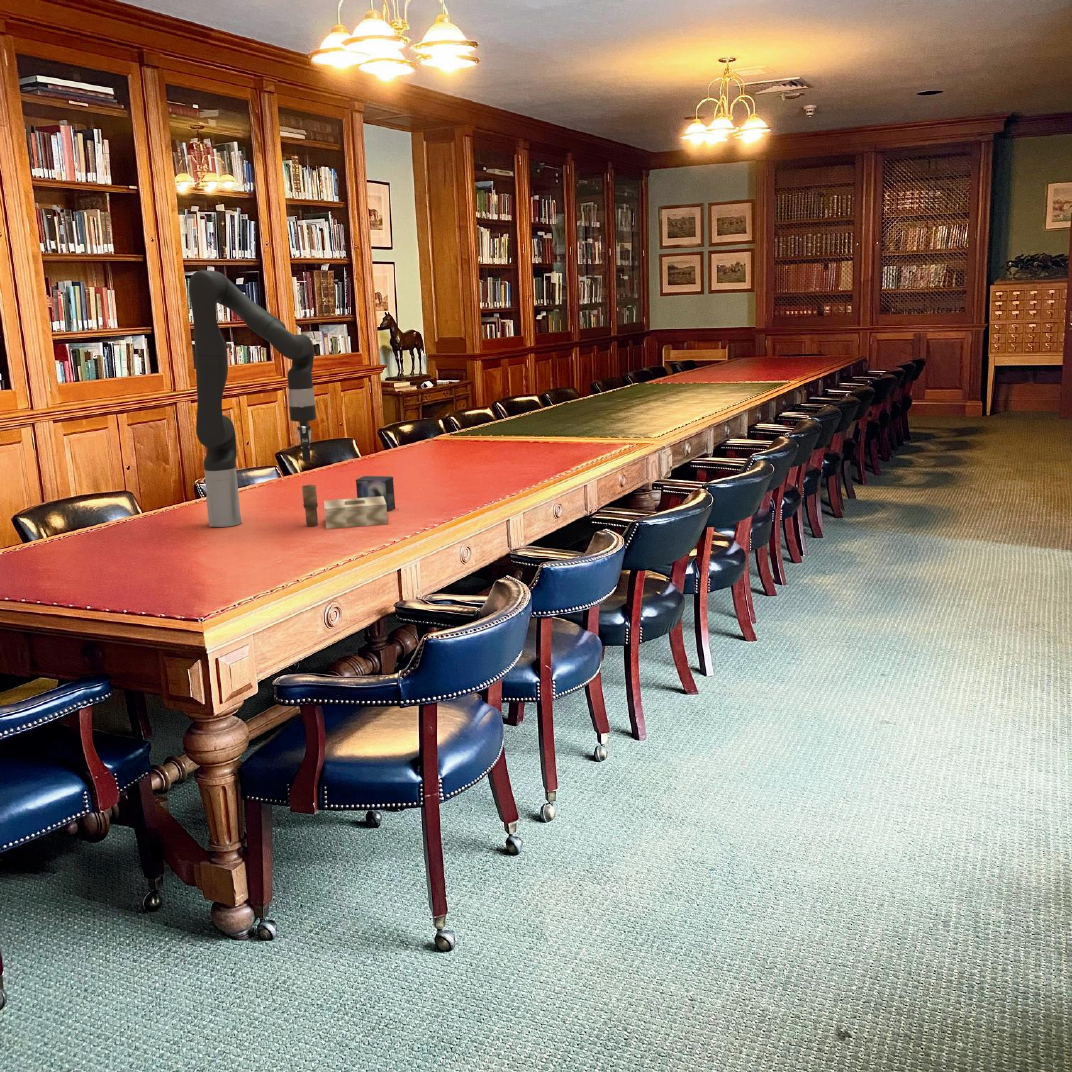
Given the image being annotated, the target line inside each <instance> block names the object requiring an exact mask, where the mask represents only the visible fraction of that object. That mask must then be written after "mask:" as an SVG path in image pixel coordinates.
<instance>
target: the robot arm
mask: <svg viewBox="0 0 1072 1072" xmlns="http://www.w3.org/2000/svg"><path fill="white" fill-rule="evenodd" d="M188 291H189V292H188V293H189V298H190V299H189V300H190V305H191V311H192V312H191V313H192V320H193V321H192V322H193V336H194V337H193V339H194V364H195V379H196V380H195V381H196V393H197V394H196V396H197V398H196V399H197V401H196V403H197V404H196V405H197V406H196V407H197V408H196V422H195V424H196V426H195V432H196V437H197V440H198V442H199V443H200V445H203V447H205V448H206V456H205V458H204V460H203V471H204V479H205V480H204V481H205V482H204V483H205V488H206V489H205V491H206V496H205V498H206V507H207V508H206V509H207V517H208V527H209V528H226V527H234V526H238V525H241V524H242V515H241V507H240V505H241V503H240V496H239V485H238V477H237V476H238V475H237V466H236V460H237V455H238V453H237V452H238V451H237V436H236V429H235V425H234V423H233V421H232V420H231V419H230V417H228V416H226V415H224V414H223V395H224V391H225V389H226V384H227V383H226V382H227V380H228V373H229V359H228V357H229V356H228V348H227V345H226V341H225V338H224V336H223V333H222V331H221V329H220V327H219V322H218V318H217V304H218V305H221V306H223V307H225V308H227V309H229V310H230V311H232V312H234V313H235V314H236V315H237V316H238V317H239V318H240V319H241V321H243V323H244V324H245V325H246V326H247V327H248V328H249V330H251V331H253V332H254V333H256V335H258V336H259V337H261V338H262V339H264V340H265V341H267V342H268V343H270V345H271V346H272V347H273V348H274V349H275V350H276V351H277V352H278V353H279V354H280V355H282V356H283V357H285V358H286V359H288V360H291V368H289V369H288V371H287V387H288V392H287V393H288V394H287V395H288V398H287V399H288V407H289V408H288V409H289V420H290V421H291V422H298V423H299V426H297V428H296V429H297V434H298V441H299V443H300V448H301V453H302V454H301V455H302V457H301V458H302V461H303V462H310V461H311V441H312V426H311V425H310V426H309V422H312V421H315V420H316V419H317V411H316V410H317V409H316V399H315V398H316V397H315V391H314V384H313V383H314V382H313V366H314V356H315V348H314V343H313V340H312V339H311V338H310V337H309V336H308V335H305V334H300V333H299V334H294V333H292V332H290V331H289V330H288V329H287V327H286V324H285V323H284V322H282V321H281V320H280V319H279V318H278V317H276V316H274V315H273V314H272V313H270V312H269V311H267V310H265V309H264V308H263V307H262V306H260V305H258V304H257V303H256V302H255V301H253V300H252V299H250V298H249V297H248V295H247V294H245V293H244V292H243V291H241V290H240V289H239V288H238V286H236V285H235V284H234V283H233V282H232V281H231V280H230V279H229V278H228V277H227V276H226V275H225V274H223V272H219V271H217V270H208V269H207V270H205V269H204V270H203V269H201V270H198V271H195V272H193V274H191V276H190V279H189V284H188Z"/></svg>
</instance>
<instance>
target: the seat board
mask: <svg viewBox="0 0 1072 1072" xmlns="http://www.w3.org/2000/svg"><path fill="white" fill-rule="evenodd" d="M323 504H324V506H323V507H324V509H323V510H324V520H325V529H326V530H330V529H342V528H343V529H344V528H354V527H367V526H381V525H382V526H383V525H388V524H389V523H388V512H387V506H386V502H385V499H384V496H380V497H366V498H357V497H356V498H343V499H330V500H327V499H326V500H323Z"/></svg>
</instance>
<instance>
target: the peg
mask: <svg viewBox="0 0 1072 1072" xmlns="http://www.w3.org/2000/svg"><path fill="white" fill-rule="evenodd" d="M301 488H302V500H303V501H302V502H303V505H302V506H303V509H304V510H305V524H306V527H309V528H313V527H317V526H319V520H318V519H319V518H318V509H317V508H318V506H319V504H318V496H317V495H318V494H317V485H316V484H305V485H302V486H301Z"/></svg>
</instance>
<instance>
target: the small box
mask: <svg viewBox="0 0 1072 1072" xmlns="http://www.w3.org/2000/svg"><path fill="white" fill-rule="evenodd" d="M355 485H356V486H355V487H356V498H366V497H380V496H384V499H385V502H386V506H387V513H388V512H391V511H393V510H395V509H396V502H395V500H396V499H395V486H394V476H388V475H387V476H386V475H383V476H382V475H375V476H374V475H364V476H363V475H362V477H358V478H356V479H355Z"/></svg>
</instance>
